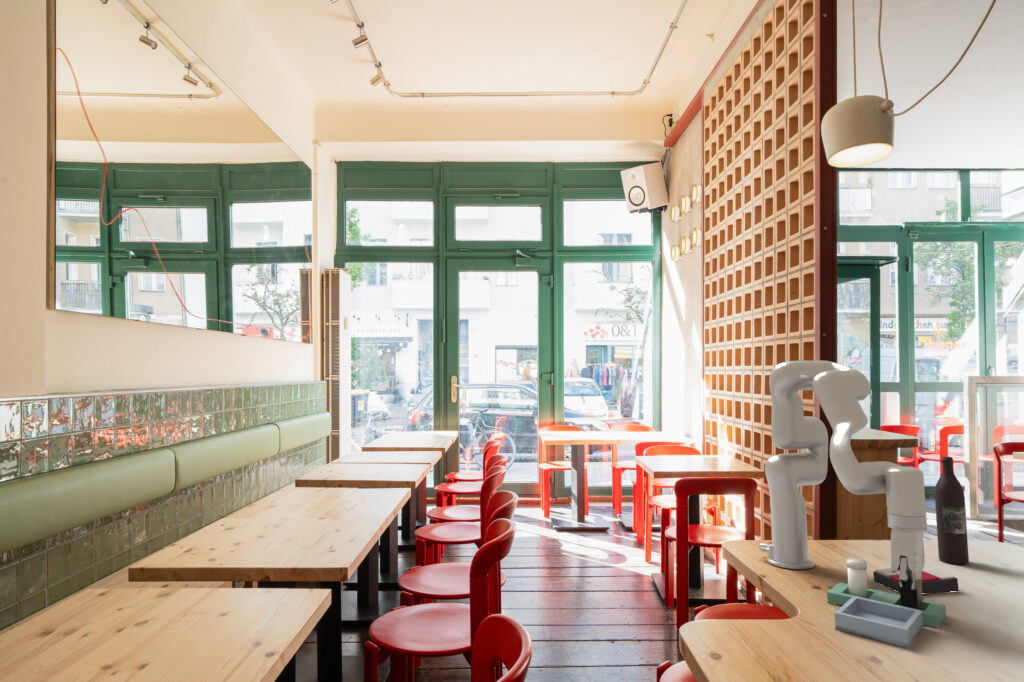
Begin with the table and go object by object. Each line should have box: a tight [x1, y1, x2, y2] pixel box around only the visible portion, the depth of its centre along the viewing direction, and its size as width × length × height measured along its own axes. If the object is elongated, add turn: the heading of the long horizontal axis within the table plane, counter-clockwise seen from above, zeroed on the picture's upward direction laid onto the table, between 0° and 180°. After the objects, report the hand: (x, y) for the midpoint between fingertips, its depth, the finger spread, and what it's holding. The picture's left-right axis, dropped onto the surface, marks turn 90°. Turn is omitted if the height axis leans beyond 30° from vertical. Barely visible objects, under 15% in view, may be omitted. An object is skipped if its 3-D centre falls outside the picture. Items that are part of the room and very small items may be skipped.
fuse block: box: [826, 582, 947, 629], centre depth 140 cm, size 22×9×2 cm, turn 45°
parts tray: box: [834, 596, 924, 649], centre depth 130 cm, size 13×13×4 cm
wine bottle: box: [934, 456, 970, 566], centre depth 175 cm, size 7×7×30 cm
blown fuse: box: [899, 569, 923, 610], centre depth 137 cm, size 4×4×10 cm
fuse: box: [846, 557, 869, 598], centre depth 144 cm, size 4×4×10 cm
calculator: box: [872, 564, 960, 594], centre depth 155 cm, size 11×4×15 cm
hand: (911, 602), depth 136 cm, fingers closed on blown fuse, 4 cm apart
